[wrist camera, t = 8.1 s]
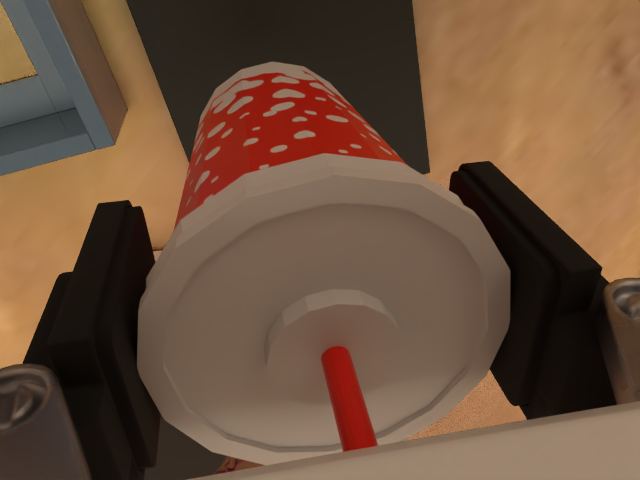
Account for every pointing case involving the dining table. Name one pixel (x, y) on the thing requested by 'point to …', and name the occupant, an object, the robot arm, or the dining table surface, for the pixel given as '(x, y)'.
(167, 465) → the jar
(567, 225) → the dining table surface
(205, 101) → the mat
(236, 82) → the beverage cup
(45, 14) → the blue-grey open box
